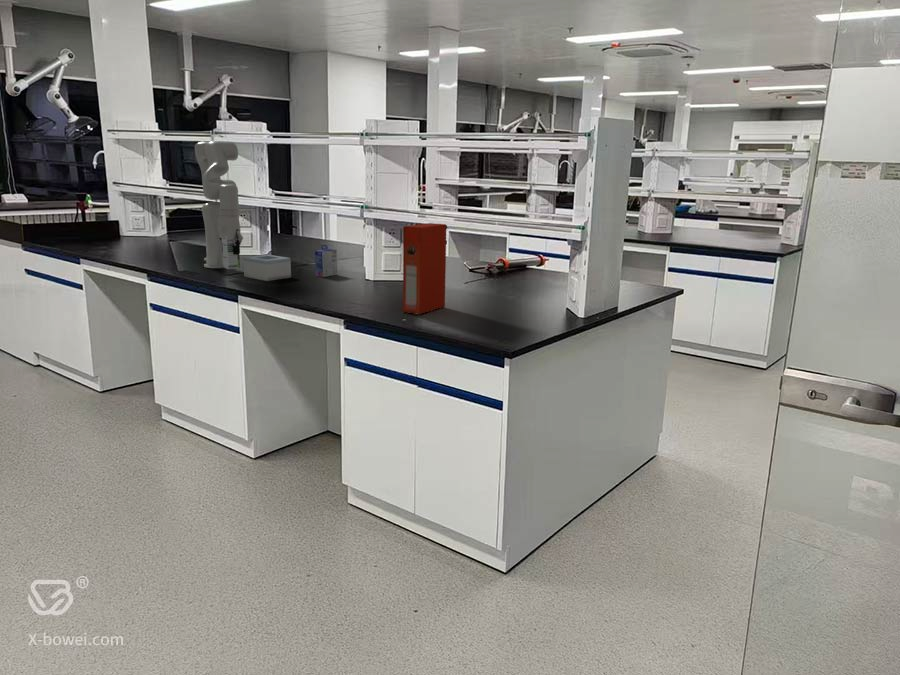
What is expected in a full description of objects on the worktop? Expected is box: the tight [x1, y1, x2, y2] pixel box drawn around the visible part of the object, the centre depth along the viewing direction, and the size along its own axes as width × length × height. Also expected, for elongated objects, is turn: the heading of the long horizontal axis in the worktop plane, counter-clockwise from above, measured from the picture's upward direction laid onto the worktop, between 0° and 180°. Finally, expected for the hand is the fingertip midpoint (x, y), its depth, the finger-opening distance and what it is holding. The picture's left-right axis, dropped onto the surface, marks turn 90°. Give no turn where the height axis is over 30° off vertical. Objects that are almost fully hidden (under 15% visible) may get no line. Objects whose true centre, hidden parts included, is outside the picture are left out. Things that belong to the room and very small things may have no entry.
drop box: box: [242, 254, 292, 282], centre depth 316 cm, size 16×14×9 cm
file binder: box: [402, 222, 447, 315], centre depth 255 cm, size 8×17×32 cm, turn 149°
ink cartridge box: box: [314, 244, 338, 278], centre depth 324 cm, size 10×6×14 cm, turn 145°
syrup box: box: [222, 236, 241, 270], centre depth 306 cm, size 6×6×14 cm
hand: (231, 252), depth 306 cm, fingers closed on syrup box, 7 cm apart
